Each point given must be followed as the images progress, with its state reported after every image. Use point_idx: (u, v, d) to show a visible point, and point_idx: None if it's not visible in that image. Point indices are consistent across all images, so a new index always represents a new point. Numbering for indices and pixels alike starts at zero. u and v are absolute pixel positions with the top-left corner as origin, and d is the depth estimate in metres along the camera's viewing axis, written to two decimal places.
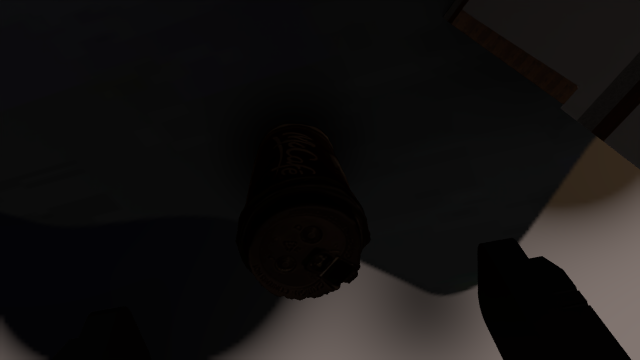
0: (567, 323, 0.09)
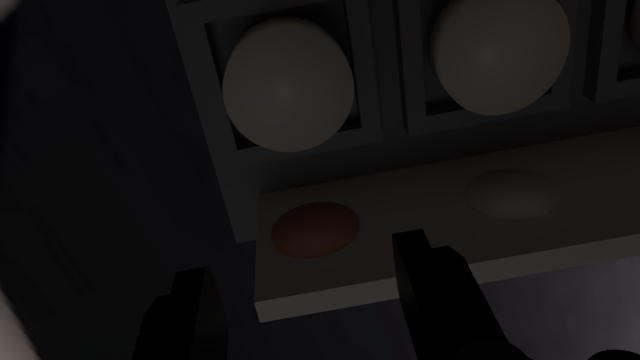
0: (451, 304, 0.10)
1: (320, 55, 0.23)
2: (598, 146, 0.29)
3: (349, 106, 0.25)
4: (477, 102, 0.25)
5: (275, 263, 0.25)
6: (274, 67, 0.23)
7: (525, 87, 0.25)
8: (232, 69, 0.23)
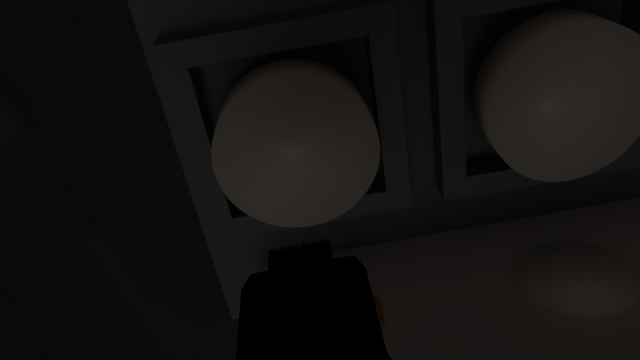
0: (336, 315, 0.10)
1: (336, 111, 0.18)
2: None
3: (373, 172, 0.19)
4: (536, 166, 0.20)
5: None
6: (278, 126, 0.18)
7: (598, 148, 0.19)
8: (224, 129, 0.18)
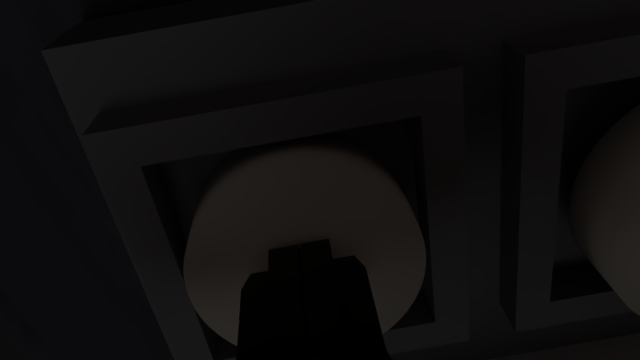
0: (336, 315, 0.10)
1: (366, 214, 0.12)
2: None
3: (415, 290, 0.14)
4: None
5: None
6: (281, 235, 0.12)
7: None
8: (201, 241, 0.12)
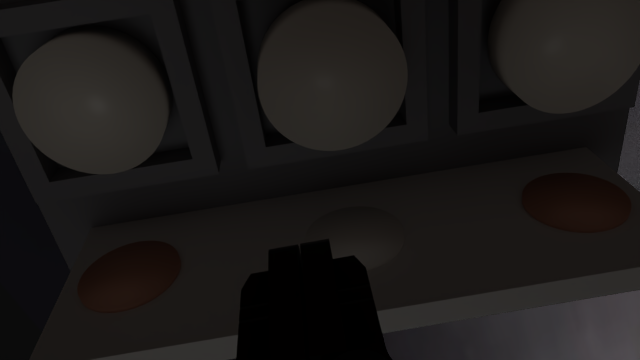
0: (336, 315, 0.10)
1: (119, 71, 0.21)
2: (465, 181, 0.26)
3: (163, 126, 0.22)
4: (308, 136, 0.22)
5: (70, 318, 0.21)
6: (69, 83, 0.21)
7: (362, 120, 0.22)
8: (21, 84, 0.21)
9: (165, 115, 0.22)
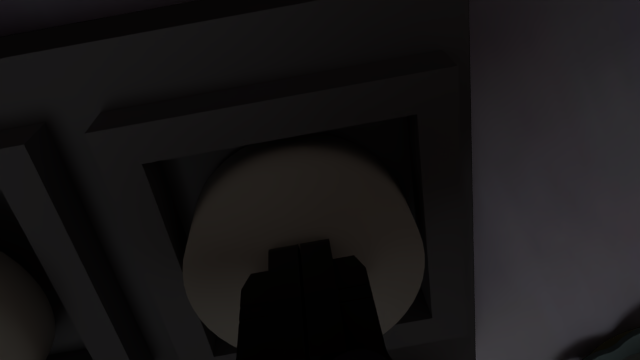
0: (336, 315, 0.10)
1: None
2: None
3: None
4: None
5: None
6: None
7: None
8: None
9: None
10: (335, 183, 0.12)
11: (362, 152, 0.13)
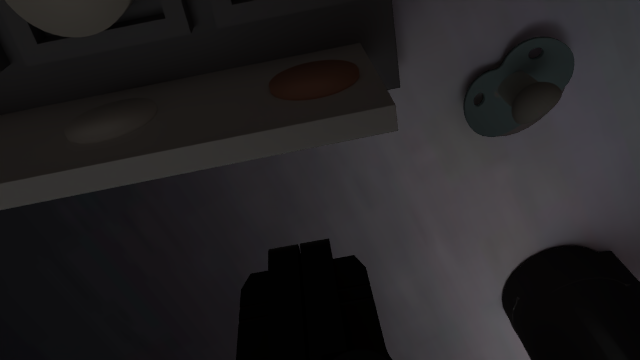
0: (336, 315, 0.10)
1: None
2: (238, 75, 0.28)
3: None
4: (52, 23, 0.24)
5: None
6: None
7: (99, 6, 0.24)
8: None
9: None
10: None
11: None
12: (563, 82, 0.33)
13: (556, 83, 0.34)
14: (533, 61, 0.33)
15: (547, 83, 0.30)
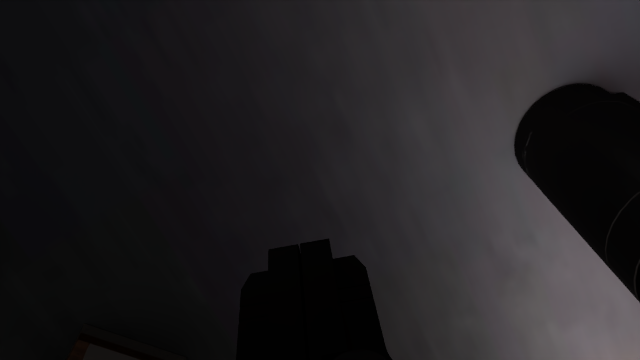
0: (336, 315, 0.10)
1: None
2: None
3: None
4: None
5: None
6: None
7: None
8: None
9: None
10: None
11: None
12: None
13: None
14: None
15: None
